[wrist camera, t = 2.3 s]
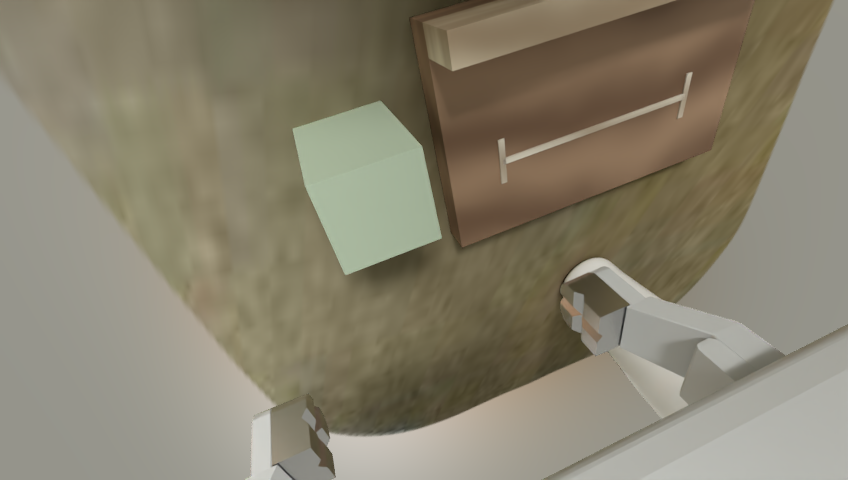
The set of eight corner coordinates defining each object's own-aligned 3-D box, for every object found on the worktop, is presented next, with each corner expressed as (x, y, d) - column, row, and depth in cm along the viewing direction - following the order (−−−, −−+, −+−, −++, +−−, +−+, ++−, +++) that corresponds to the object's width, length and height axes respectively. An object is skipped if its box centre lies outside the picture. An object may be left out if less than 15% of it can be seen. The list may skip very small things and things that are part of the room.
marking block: (292, 128, 21) (305, 186, 15) (380, 100, 22) (422, 146, 16) (332, 222, 25) (354, 295, 19) (406, 196, 26) (446, 258, 20)
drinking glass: (556, 261, 34) (708, 412, 23) (620, 238, 36) (795, 371, 24) (549, 313, 38) (676, 463, 27) (607, 291, 40) (752, 425, 28)
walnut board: (409, 17, 20) (446, 30, 16) (743, -80, 23) (842, -89, 19) (450, 232, 28) (481, 274, 25) (688, 140, 31) (749, 165, 28)
